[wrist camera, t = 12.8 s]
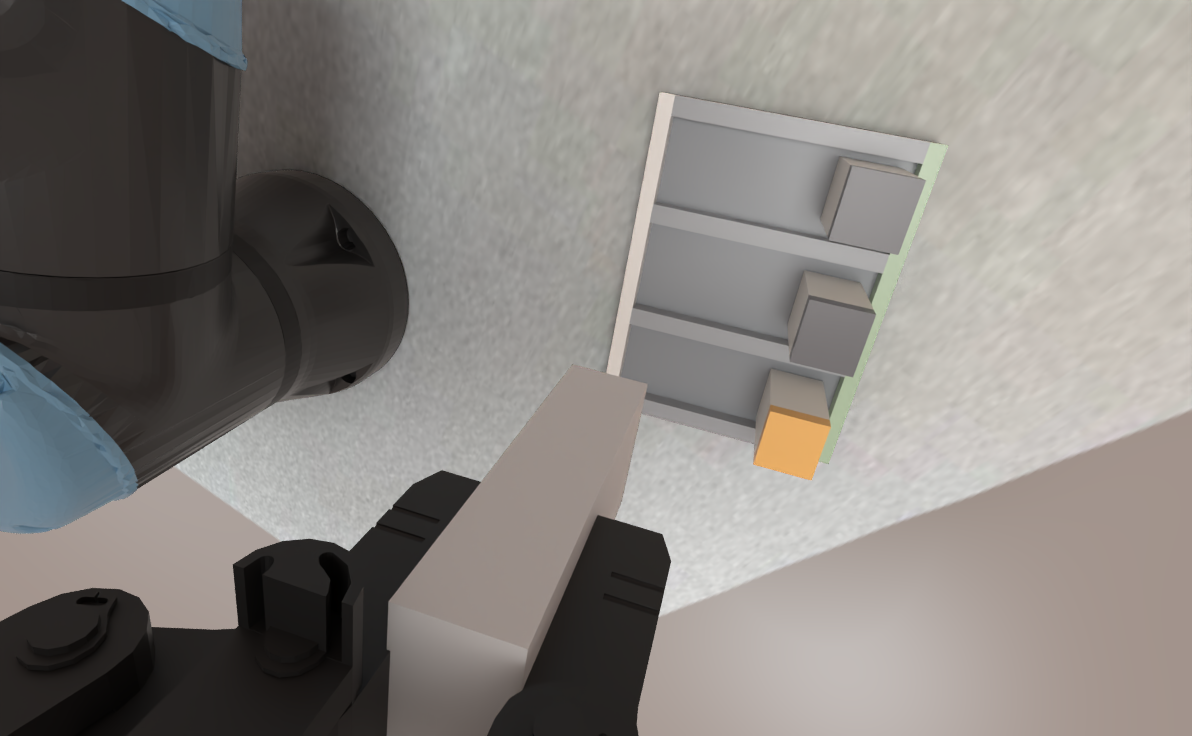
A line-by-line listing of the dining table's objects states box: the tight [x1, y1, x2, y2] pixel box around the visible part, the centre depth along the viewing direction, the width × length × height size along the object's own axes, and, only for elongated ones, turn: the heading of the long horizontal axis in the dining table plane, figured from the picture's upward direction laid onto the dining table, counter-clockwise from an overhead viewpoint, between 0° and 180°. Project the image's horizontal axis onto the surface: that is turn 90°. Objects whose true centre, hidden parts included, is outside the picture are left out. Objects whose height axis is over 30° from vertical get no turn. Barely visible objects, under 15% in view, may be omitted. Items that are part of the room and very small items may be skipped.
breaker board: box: [606, 92, 948, 464], centre depth 36 cm, size 14×18×2 cm
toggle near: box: [820, 156, 926, 255], centre depth 30 cm, size 3×3×6 cm
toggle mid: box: [787, 270, 876, 377], centre depth 33 cm, size 3×3×6 cm
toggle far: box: [753, 369, 831, 480], centre depth 35 cm, size 3×3×6 cm
